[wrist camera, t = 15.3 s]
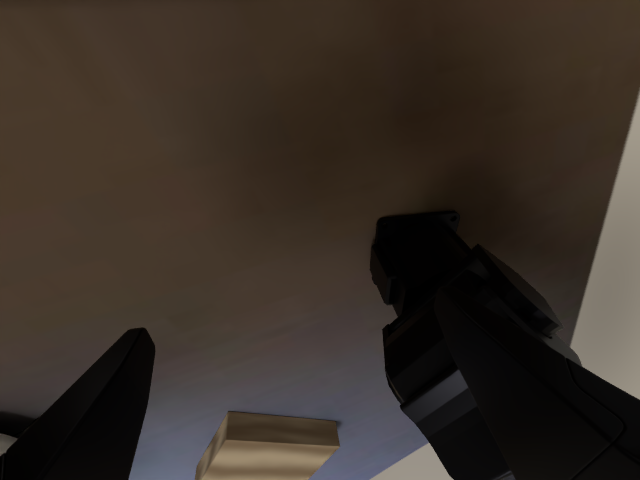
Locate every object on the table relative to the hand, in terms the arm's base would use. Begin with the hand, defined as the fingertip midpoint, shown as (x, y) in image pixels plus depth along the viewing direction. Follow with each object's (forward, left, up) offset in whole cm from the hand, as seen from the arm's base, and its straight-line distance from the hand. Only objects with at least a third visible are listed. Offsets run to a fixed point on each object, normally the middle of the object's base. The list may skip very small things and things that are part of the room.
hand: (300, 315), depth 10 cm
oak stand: (+6, +38, -13) cm, 41 cm away
